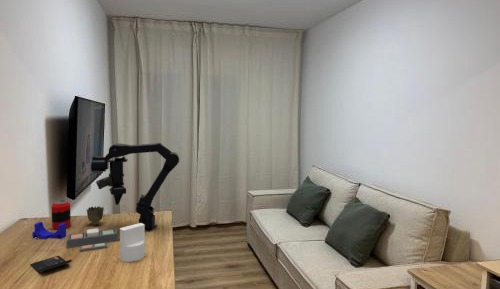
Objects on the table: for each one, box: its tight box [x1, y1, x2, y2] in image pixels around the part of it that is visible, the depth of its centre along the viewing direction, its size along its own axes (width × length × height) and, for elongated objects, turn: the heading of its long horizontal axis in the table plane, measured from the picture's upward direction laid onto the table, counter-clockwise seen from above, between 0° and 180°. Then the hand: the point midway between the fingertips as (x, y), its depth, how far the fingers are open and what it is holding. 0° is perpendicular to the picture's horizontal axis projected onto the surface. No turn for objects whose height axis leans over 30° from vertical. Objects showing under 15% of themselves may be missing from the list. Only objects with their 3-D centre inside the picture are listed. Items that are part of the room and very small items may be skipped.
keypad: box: [65, 228, 120, 249], centre depth 140 cm, size 20×8×3 cm, turn 117°
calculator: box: [29, 255, 73, 274], centre depth 118 cm, size 9×12×3 cm
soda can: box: [50, 200, 72, 231], centre depth 154 cm, size 8×8×12 cm
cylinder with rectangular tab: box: [119, 222, 146, 263], centre depth 127 cm, size 9×9×12 cm
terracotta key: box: [71, 233, 83, 239], centre depth 137 cm, size 4×4×2 cm
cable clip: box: [31, 221, 67, 240], centre depth 142 cm, size 12×4×6 cm, turn 87°
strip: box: [79, 242, 108, 253], centre depth 133 cm, size 10×3×1 cm, turn 117°
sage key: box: [102, 229, 114, 235], centre depth 143 cm, size 4×4×2 cm
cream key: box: [86, 228, 99, 237], centre depth 140 cm, size 4×4×2 cm
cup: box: [86, 205, 104, 226], centre depth 159 cm, size 8×7×8 cm
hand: (116, 204), depth 152 cm, fingers closed
